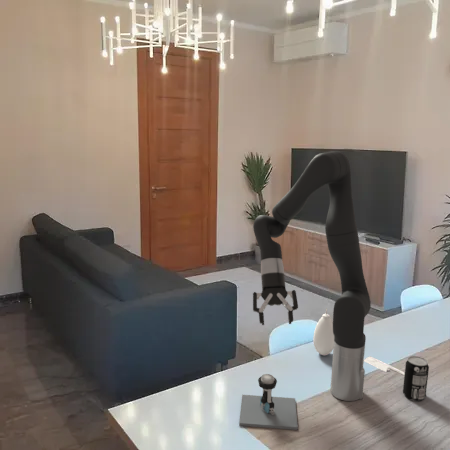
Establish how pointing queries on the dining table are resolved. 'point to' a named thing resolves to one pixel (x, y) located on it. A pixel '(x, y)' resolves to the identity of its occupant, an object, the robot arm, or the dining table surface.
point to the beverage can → (415, 378)
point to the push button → (267, 392)
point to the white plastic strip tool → (382, 365)
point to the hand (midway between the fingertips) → (276, 324)
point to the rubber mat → (260, 418)
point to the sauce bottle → (324, 335)
